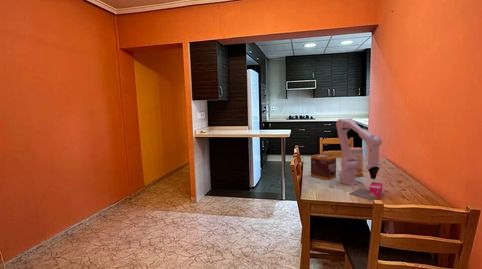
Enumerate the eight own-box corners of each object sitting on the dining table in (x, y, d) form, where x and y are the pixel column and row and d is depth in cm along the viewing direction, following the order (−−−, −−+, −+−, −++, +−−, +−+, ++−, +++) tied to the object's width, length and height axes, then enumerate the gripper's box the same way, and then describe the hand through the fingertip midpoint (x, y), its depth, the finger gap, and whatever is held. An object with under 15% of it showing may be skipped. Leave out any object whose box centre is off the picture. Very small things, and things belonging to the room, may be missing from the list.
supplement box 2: (382, 192, 150) (380, 198, 141) (371, 191, 153) (368, 196, 144) (383, 183, 149) (380, 188, 140) (371, 181, 153) (368, 187, 144)
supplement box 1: (328, 180, 181) (328, 158, 179) (310, 175, 193) (310, 155, 192) (336, 177, 187) (336, 156, 185) (319, 173, 199) (319, 153, 198)
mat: (349, 194, 151) (349, 193, 151) (361, 188, 159) (361, 188, 159) (372, 200, 140) (372, 199, 140) (384, 194, 148) (384, 193, 148)
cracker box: (360, 174, 192) (360, 147, 190) (363, 176, 186) (363, 148, 184) (341, 174, 193) (341, 147, 191) (343, 176, 187) (343, 148, 185)
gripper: (374, 159, 144) (374, 182, 146) (386, 155, 153) (385, 177, 154) (362, 157, 150) (362, 180, 151) (374, 154, 158) (373, 175, 160)
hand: (373, 178), depth 153 cm, fingers closed
